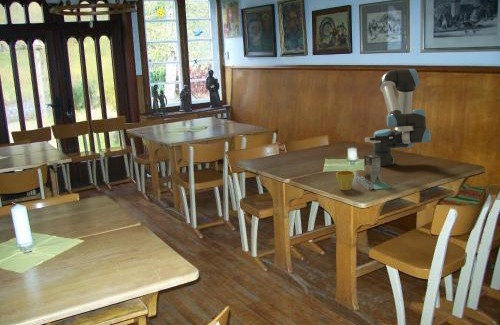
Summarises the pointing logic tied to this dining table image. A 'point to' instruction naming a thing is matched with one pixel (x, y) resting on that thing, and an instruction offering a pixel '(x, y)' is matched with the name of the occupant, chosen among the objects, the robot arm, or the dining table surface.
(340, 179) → the plant pot
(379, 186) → the pad
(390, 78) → the robot arm
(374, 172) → the coffee box
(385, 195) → the dining table surface
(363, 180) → the steel rail
